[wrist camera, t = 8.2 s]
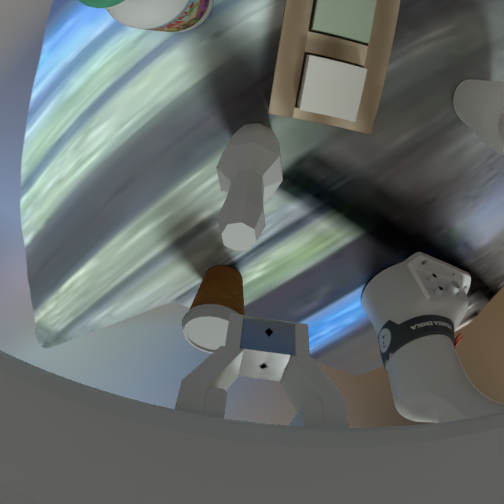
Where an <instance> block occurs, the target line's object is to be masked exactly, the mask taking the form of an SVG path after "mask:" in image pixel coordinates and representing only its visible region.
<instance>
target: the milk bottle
mask: <svg viewBox="0 0 504 504" xmlns="http://www.w3.org/2000/svg"><path fill="white" fill-rule="evenodd" d="M79 1H80V2H82V3H83V4H85V5H87V6H90V7H95V8H104V9H107V11H108V12H109V14H110V15H111V16H112V17H113V18H114V19H115V20H117V21H118V22H120V23H122V24H124V25H126V26H129V27H132V28H138V29H145V30H155V31H165V32H185V31H188V30H191V29H193V28H195V27H197V26H199V25H200V24H201V23H202V22H204V21H205V19H206V18H207V17H208V15H209V14H210V12H211V9H212V5H213V0H79Z"/></svg>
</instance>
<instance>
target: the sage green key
mask: <svg viewBox="0 0 504 504" xmlns="http://www.w3.org/2000/svg"><path fill="white" fill-rule="evenodd" d="M376 1H377V0H314V1H313V7H312V13H311V19H310V25H309V31H311V32H316V33H321V34H325V35H329V36H334V37H338V38H342V39H346V40H349V41H353V42H357V43H369V40H370V35H371V29H372V24H373V19H374V13H375V7H376Z"/></svg>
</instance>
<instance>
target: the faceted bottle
mask: <svg viewBox="0 0 504 504" xmlns="http://www.w3.org/2000/svg"><path fill="white" fill-rule="evenodd" d="M216 168H217V173H218V177H219V182H220V187H221V191H223V192H224V193H226V194H228V195H227V198H226V200H225V202H224V204H223V206H222V208H221V210H220V212H219V215H218V222H219V226H220V230H221V235H222V239H223V243H224V246H226V247H228V248H230V249H232V250H234V251H247V250H250V249H251V247H252V246H253V245H254V243H255V242H256V240H257V239H258V237H259V236H260V234H261V232H262V231H263V229H264V228H265V226H266V225H265V217H264V209H263V201H264V200H269V199H270V198H271V196H272V195H273V193H274V192H275V191H276V189H277V188H278V186H279V185H280V183H281V182H282V181H283V178H282V164H281V155H280V147H279V142H278V140H277V138H276V137H275V135H274V133H273V131H272V130H271V129H269V128H267V127H266V126H264V125H262V124H260V123H253V124H245V125H243V126H242V127H241V128H240V129H239V130H238V131H237V132H236V133H234V135H233V136H232V138H231V140H230V141H229V143H228V145H227V147H226V148H225V150H224V152H223V154H222V156H221V158H220V160H219V163H218V165H217V167H216Z"/></svg>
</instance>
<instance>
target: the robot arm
mask: <svg viewBox="0 0 504 504" xmlns="http://www.w3.org/2000/svg"><path fill="white" fill-rule="evenodd" d="M422 261H423V262H422ZM470 283H471V276H470V274H469V273H468V272H466V271H464V270H461V269H459V268H457V267H455V266H452V265H450V264H448V263H446V262H443V261H441V260H439V259H436V258H434V257H432V256H429V255H427V254H425V253H422V252H417V253H415V254H413V255H411V256H410V257H409V258H407V259H406V260H405V261H403V262H401V263H399V264H396V265H394V266H391V267H389V268H387V269H385V270H383V271H382V272H380V273H379V274H377V275H376V276H375V277H374V278H373V279H372V280H371V281H370V282H369V283H368V284H367V286H366V288H365V289H364V291H363V294H362V299H361V304H362V308H363V310H364V311H365V313H366V314H367V316H368V317H369V319H370V320H371V322H372V324H373V326H374V328H375V331H376V333H377V335H378V340H379V347H380V352H381V357H382V360H383V364H384V367H385V370H386V371H387V372H388V374H389V378H390V382H391V387H392V392H393V397H394V402H395V406H396V409H397V410H398V412H399V413H400V414H401V415H402V416H403V417H405V418H407V419H409V420H413V421H418V422H436V423H434V424H424V425H413V426H399V427H379V428H349V424H348V413H347V403H346V399H345V398H344V397H343V396H342V394H341V393H340V392H339V390H338V389H337V388H336V387H335V385H334V384H333V383H332V381H331V380H330V379H329V378H328V377H327V375H326V374H325V372H324V371H323V370H322V369H321V367H320V366H319V365H318V363H317V362H316V361H315V360H314V358H310V352H309V337H308V326H307V324H302V323H293V322H287V321H279V320H272V319H263V318H258V317H252V316H247V315H244V316H243V315H240V314H235V313H230V317H229V323H228V329H227V335H226V341H225V346H220V347H219V348H218V349H217V350H216V351H214V352H213V353H212V354H211V355H210V356H209V357H208V358H207V359H205V360H204V361H203V362H202V363H201V364H200V365H199V366H198V367H196V368H195V369H194V370H193V371H192V372H191V373H190V374H188V375H187V376H186V377H185V378H184V379H183V380H182V382H181V386H180V390H179V394H178V398H177V402H176V406H175V409H170V408H166V407H161V406H157V405H153V404H149V403H145V402H141V401H137V400H134V399H130V398H126V397H123V396H119V395H116V394H112V393H109V392H106V391H102V390H99V389H96V388H93V387H90V386H86V385H84V384H81V383H78V382H75V381H72V380H70V379H67V378H64V377H61V376H59V375H56V374H54V373H51V372H48V371H46V370H43V369H41V368H38V367H36V366H34V365H31V364H29V363H27V362H24V361H22V360H20V359H18V358H15V357H13V356H11V355H9V354H7V353H5V352H2V351H0V504H504V404H502V403H499V402H496V401H493V400H491V399H489V398H488V397H486V396H485V395H483V394H482V393H481V392H479V391H478V390H477V389H476V388H475V387H474V386H473V384H472V383H471V381H470V380H469V378H468V377H467V374H466V373H465V370H464V368H463V366H462V364H461V362H460V359H459V357H458V355H457V352H456V350H455V349H456V346H457V344H458V343H459V342H460V341H461V339H462V338H463V337H461V338H460V335H461V333H459V334H458V336H457V337H456V338H455V339H454V330H455V329H456V328H457V326H458V325H459V323H460V322H461V320H462V319H463V317H464V315H465V313H466V311H467V308H468V297H467V292H468V290H469V287H470ZM459 338H460V339H459ZM458 339H459V340H458ZM238 376H243V377H252V378H260V379H267V380H274V381H280V383H281V385H282V387H283V389H284V390H285V392H286V394H287V396H288V397H289V399H290V401H291V403H292V404H293V406H294V408H295V410H296V411H297V414H296V415H295V417H294V418H293V420H292V421H291V423H290V424H289V425H288V426H285V425H274V424H264V423H254V422H247V421H246V422H245V421H239V420H232V419H225V418H224V414H225V406H226V397H227V392H226V389H227V388H228V387H229V386H230V385H231V384H232V383H233V382H234V380H235V379H236V378H237V377H238Z"/></svg>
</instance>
